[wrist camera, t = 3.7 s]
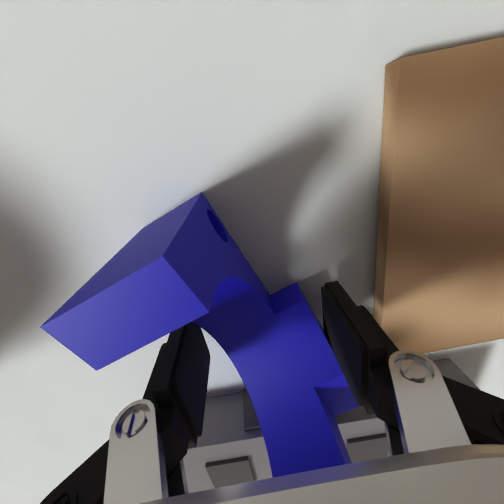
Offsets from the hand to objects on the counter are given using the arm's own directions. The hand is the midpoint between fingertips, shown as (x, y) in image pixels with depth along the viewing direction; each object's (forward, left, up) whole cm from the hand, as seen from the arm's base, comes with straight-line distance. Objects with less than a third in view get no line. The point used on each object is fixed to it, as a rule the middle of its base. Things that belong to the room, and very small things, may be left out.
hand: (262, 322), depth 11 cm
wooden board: (-2, +10, -1) cm, 10 cm away
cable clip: (0, 0, -1) cm, 1 cm away
